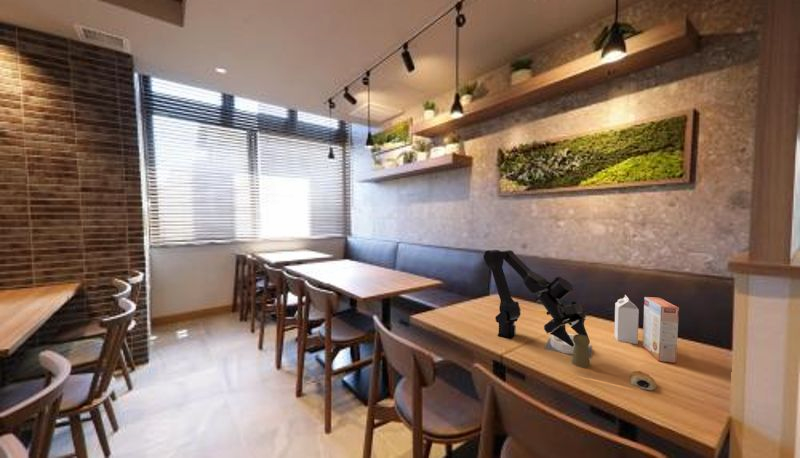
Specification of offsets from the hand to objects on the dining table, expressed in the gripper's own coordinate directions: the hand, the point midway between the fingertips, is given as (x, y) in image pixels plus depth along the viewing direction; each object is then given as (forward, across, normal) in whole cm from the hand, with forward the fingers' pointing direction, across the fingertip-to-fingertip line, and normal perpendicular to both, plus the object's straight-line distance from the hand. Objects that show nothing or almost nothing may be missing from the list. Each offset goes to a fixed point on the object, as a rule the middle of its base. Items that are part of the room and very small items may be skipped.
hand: (580, 343), depth 116 cm
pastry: (+18, +4, -6) cm, 20 cm away
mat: (-2, +9, +13) cm, 16 cm away
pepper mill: (+6, 0, +6) cm, 8 cm away
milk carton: (+4, +38, +8) cm, 39 cm away
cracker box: (+14, +34, -2) cm, 36 cm away
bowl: (-2, +9, +12) cm, 16 cm away
